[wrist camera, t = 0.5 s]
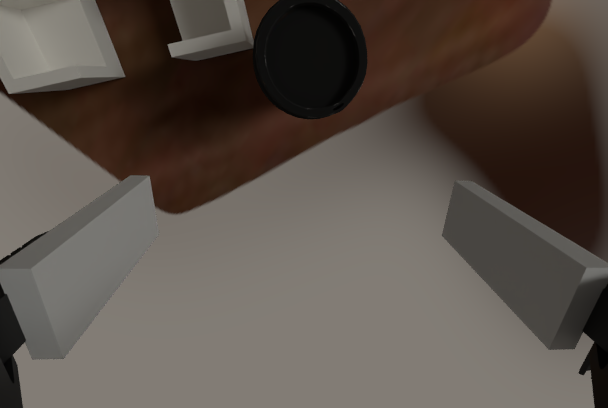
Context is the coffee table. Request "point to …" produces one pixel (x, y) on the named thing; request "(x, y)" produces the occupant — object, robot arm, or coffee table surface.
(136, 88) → the coffee table surface
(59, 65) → the bracket pair
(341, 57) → the coffee cup
